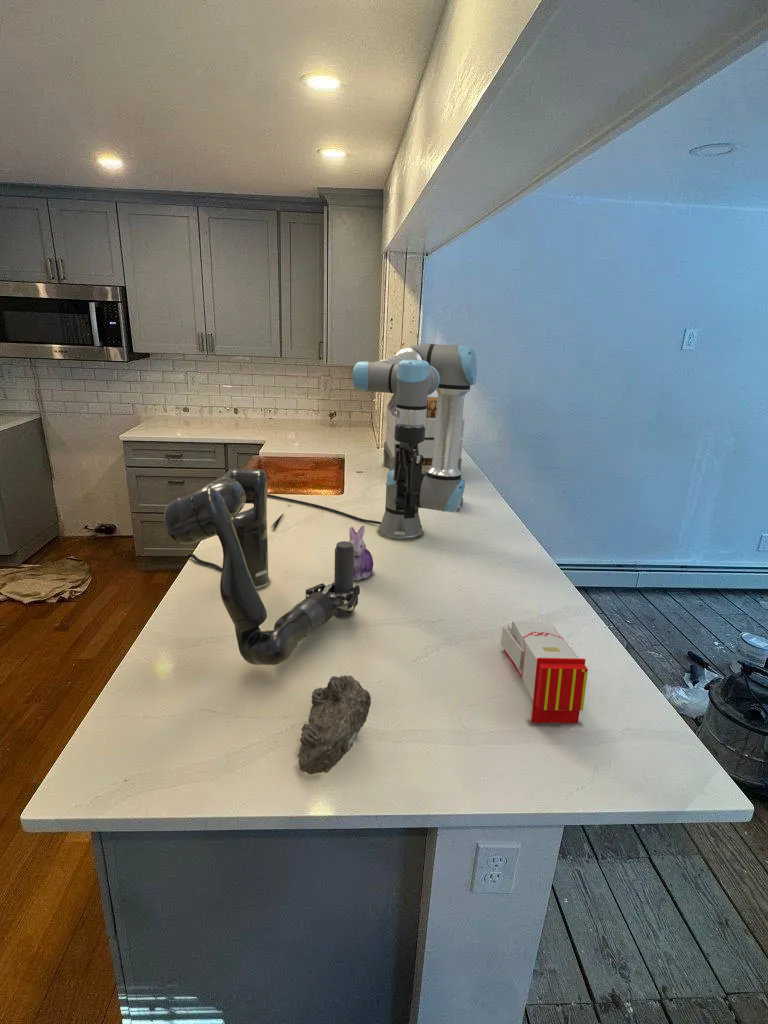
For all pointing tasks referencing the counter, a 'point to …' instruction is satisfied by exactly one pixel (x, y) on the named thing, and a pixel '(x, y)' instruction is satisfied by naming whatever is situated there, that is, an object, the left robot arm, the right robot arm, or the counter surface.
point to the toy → (547, 670)
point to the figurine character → (461, 503)
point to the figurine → (360, 555)
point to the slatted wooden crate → (423, 447)
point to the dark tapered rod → (277, 521)
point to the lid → (400, 500)
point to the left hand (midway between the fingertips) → (349, 586)
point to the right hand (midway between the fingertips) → (404, 513)
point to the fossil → (333, 723)
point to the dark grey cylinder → (343, 571)
